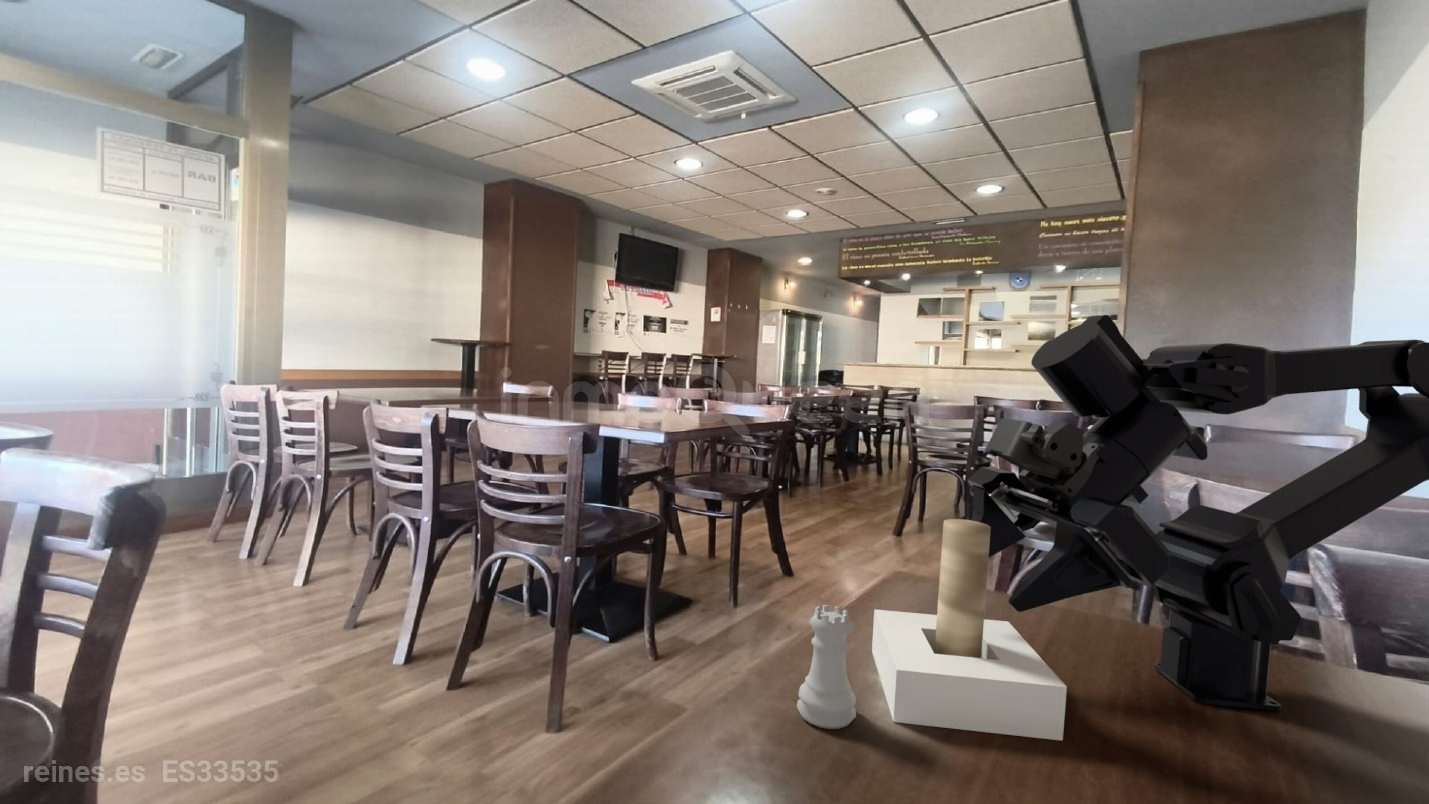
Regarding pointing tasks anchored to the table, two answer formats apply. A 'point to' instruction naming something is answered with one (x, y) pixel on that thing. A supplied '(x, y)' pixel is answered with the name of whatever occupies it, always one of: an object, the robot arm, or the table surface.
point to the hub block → (966, 679)
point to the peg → (962, 588)
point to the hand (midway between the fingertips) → (980, 586)
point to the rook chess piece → (828, 673)
